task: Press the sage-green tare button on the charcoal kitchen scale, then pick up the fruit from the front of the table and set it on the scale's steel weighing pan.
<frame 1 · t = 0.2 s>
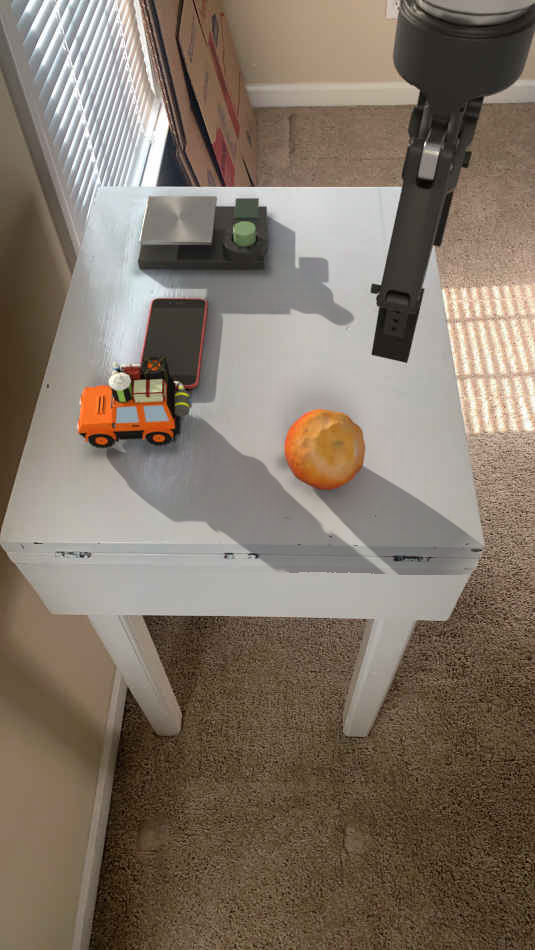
hand: (408, 294, 55), 21 cm above the table, tool pointing down, fingers open, 13 cm apart
toy car: (139, 425, 74), on the table
fruit: (321, 470, 71), on the table
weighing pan: (200, 220, 87), on the scale, point 3 cm above the table
scale: (205, 241, 90), on the table
tare button: (244, 234, 85), point 4 cm above the table, slide at 0.1 cm
smartphone: (174, 344, 80), on the table
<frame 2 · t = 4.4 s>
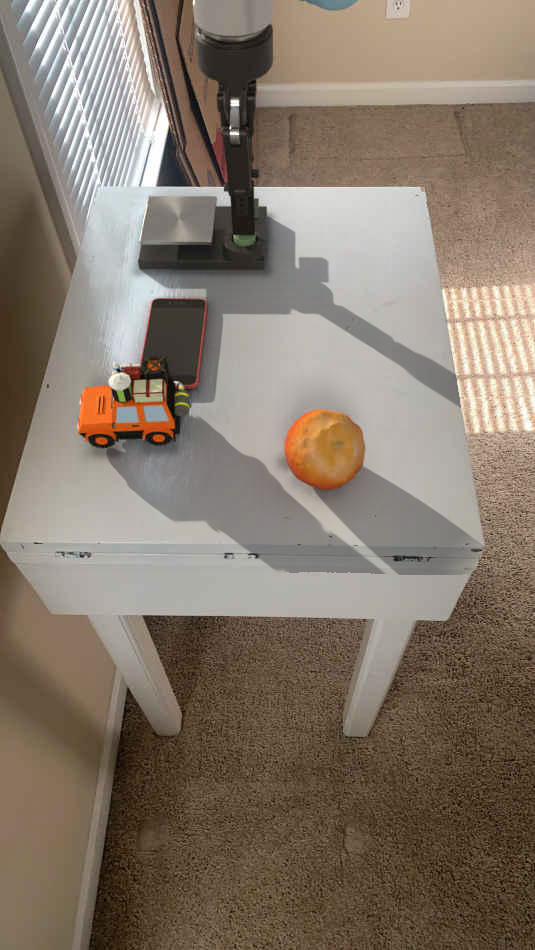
hand: (244, 231, 85), 4 cm above the table, tool pointing down, fingers closed
tare button: (244, 239, 86), point 3 cm above the table, slide at -0.6 cm, touching gripper
everything else where it was.
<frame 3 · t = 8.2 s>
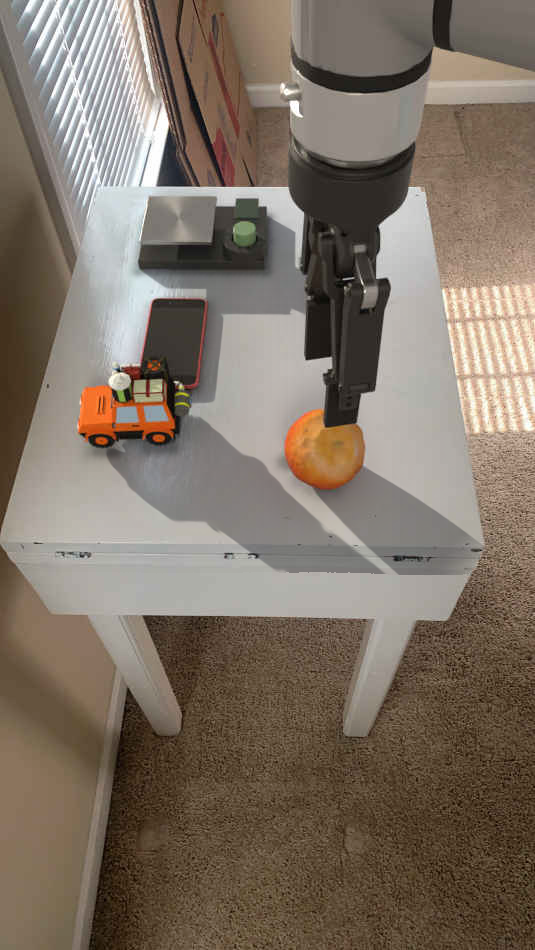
hand: (329, 387, 60), 13 cm above the table, tool pointing down, fingers open, 7 cm apart
tare button: (244, 234, 85), point 4 cm above the table, slide at 0.1 cm
everything else where it was.
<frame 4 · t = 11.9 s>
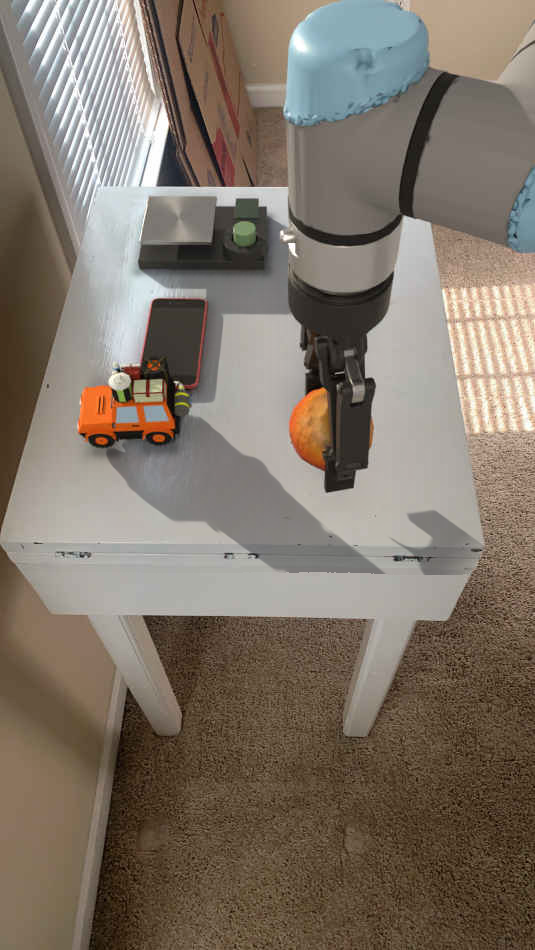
hand: (328, 450, 67), 4 cm above the table, tool pointing down, fingers closed on fruit, 8 cm apart
fruit: (328, 453, 68), point 3 cm above the table, touching gripper
everything else where it was.
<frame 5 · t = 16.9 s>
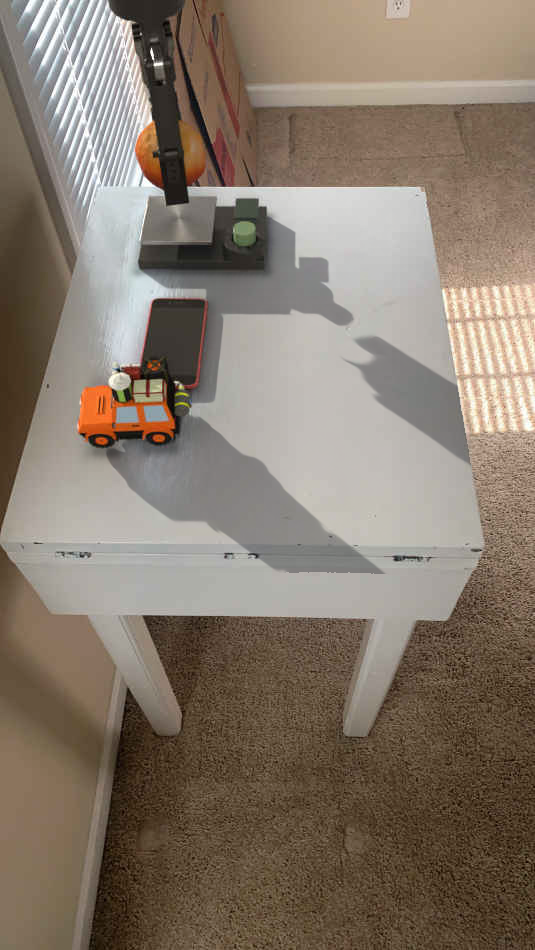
hand: (173, 180, 83), 9 cm above the table, tool pointing down, fingers closed on fruit, 8 cm apart
fruit: (174, 183, 83), point 8 cm above the table, touching gripper
everything else where it was.
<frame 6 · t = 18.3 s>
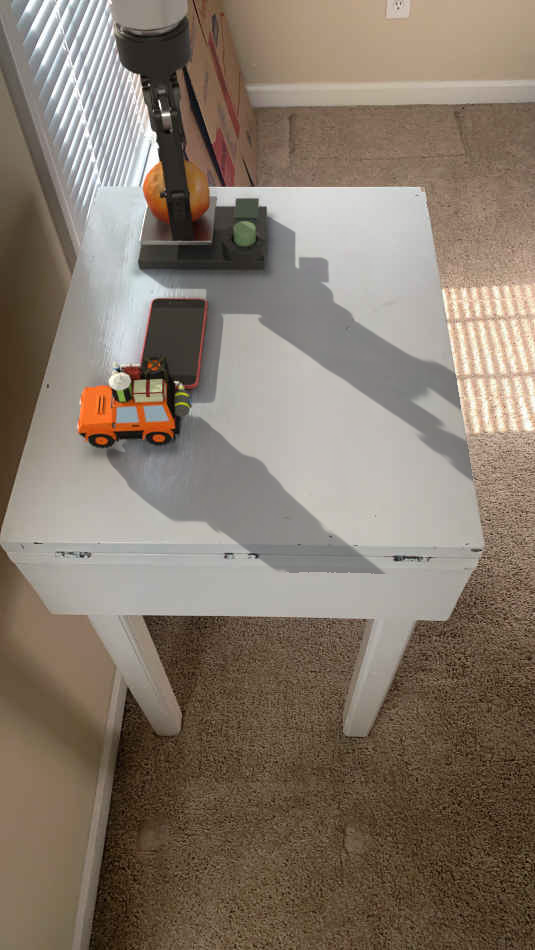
hand: (179, 216, 87), 4 cm above the table, tool pointing down, fingers closed on fruit, 8 cm apart
fruit: (179, 218, 87), point 3 cm above the table, touching gripper
everything else where it was.
when the fingers open (4 cm above the table, at t = 21.8 s): fruit stays where it is, resting on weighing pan.
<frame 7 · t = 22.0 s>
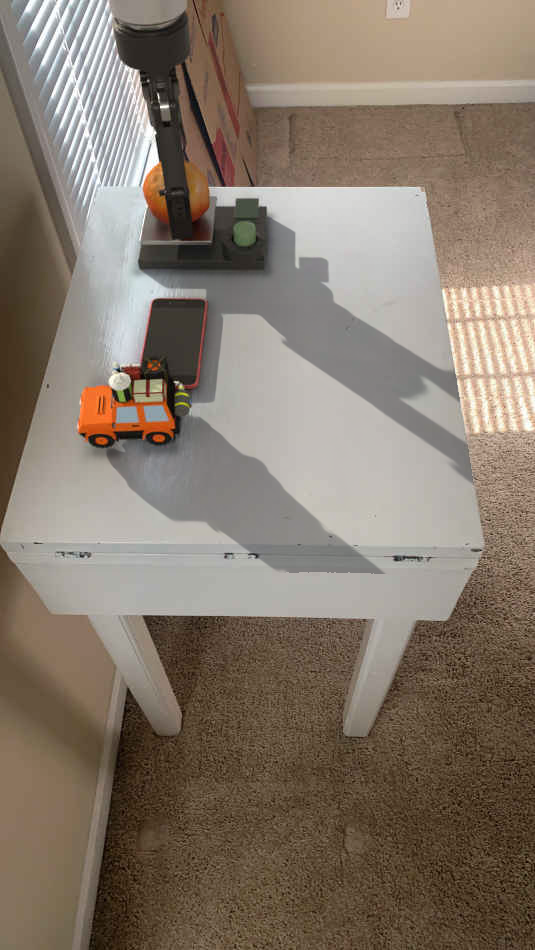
hand: (177, 208, 86), 5 cm above the table, tool pointing down, fingers open, 10 cm apart
fruit: (179, 219, 87), point 3 cm above the table, touching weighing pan
everything else where it was.
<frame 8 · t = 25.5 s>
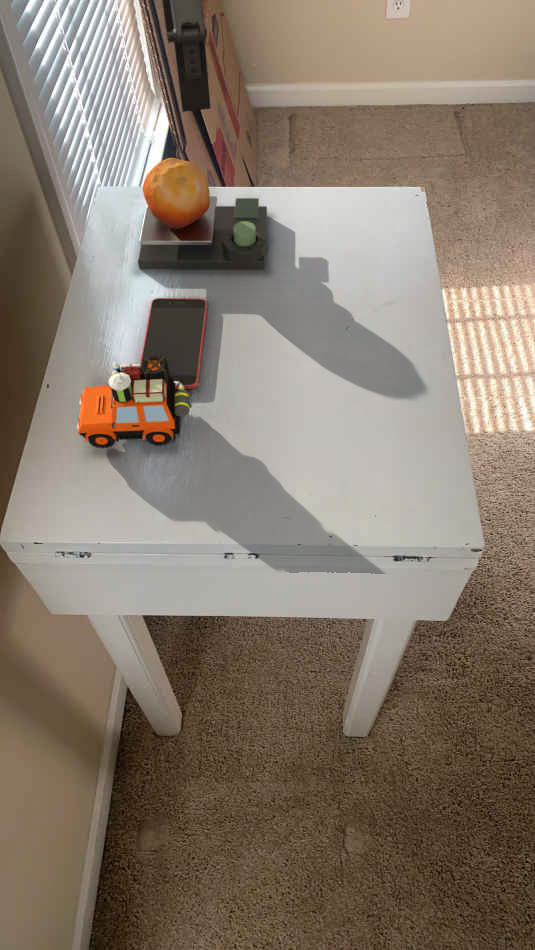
hand: (187, 72, 70), 23 cm above the table, tool pointing down, fingers open, 13 cm apart
nothing on the table moved.
at the end: tare button pushed in 0.8 cm at the most during the clip, back to where it started at the end; tare button slide at 0.1 cm; fruit inside the target area on the scale (0.1 cm from its centre), point 3.4 cm above the scale's base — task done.
